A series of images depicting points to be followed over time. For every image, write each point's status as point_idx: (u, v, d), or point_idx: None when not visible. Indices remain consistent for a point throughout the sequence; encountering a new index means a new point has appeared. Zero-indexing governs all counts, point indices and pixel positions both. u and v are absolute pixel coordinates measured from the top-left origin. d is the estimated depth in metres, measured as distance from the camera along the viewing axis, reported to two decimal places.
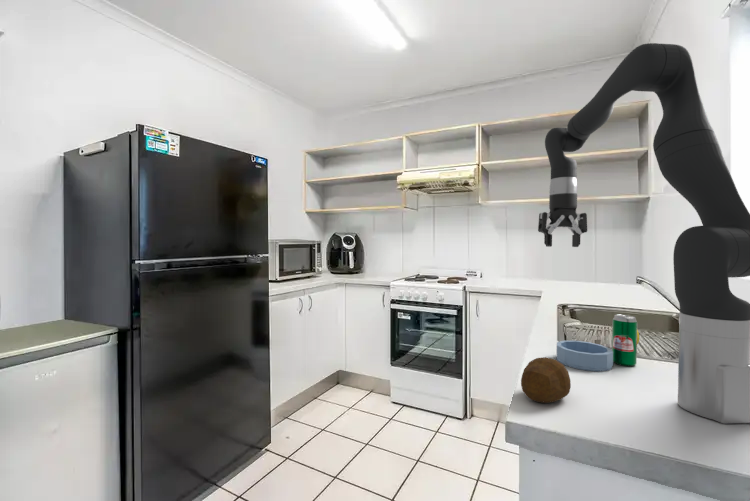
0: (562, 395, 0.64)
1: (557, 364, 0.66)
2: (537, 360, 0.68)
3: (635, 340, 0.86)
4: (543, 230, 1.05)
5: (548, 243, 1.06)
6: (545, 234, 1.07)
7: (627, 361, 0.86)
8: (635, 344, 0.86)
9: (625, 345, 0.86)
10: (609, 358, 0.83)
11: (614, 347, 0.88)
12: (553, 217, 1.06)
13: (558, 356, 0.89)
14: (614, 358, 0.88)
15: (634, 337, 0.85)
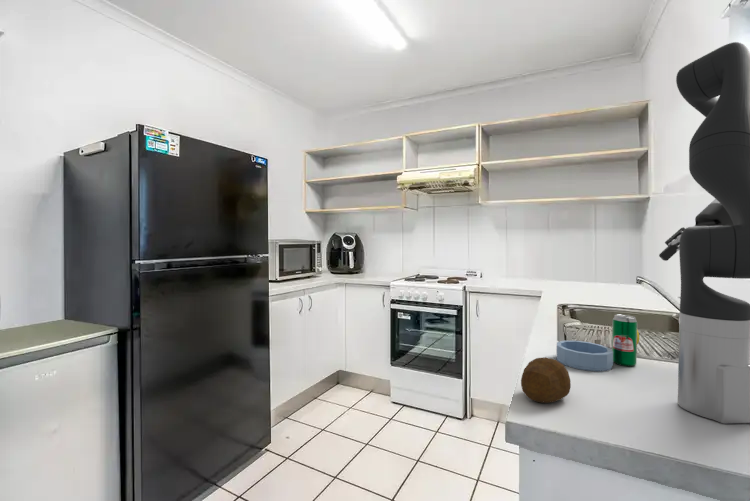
0: (562, 395, 0.64)
1: (557, 364, 0.66)
2: (537, 360, 0.68)
3: (635, 340, 0.86)
4: (666, 242, 0.93)
5: None
6: None
7: (627, 361, 0.86)
8: (635, 344, 0.86)
9: (625, 345, 0.86)
10: (609, 358, 0.83)
11: (614, 347, 0.88)
12: None
13: (558, 356, 0.89)
14: (614, 358, 0.88)
15: (634, 337, 0.85)
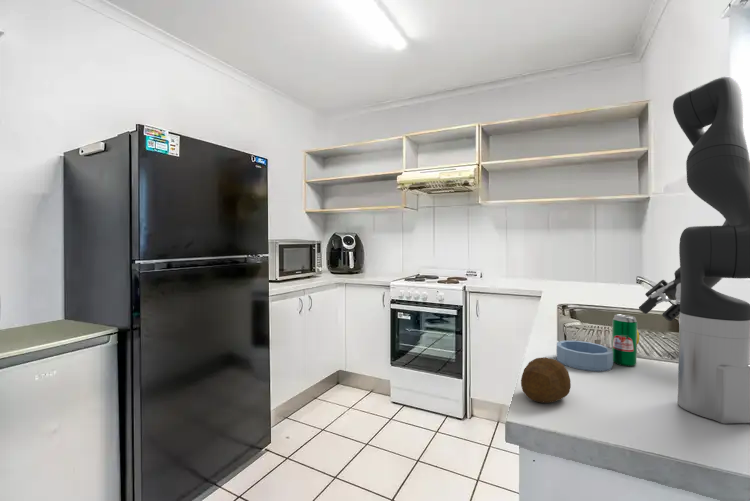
0: (562, 395, 0.64)
1: (557, 364, 0.66)
2: (537, 360, 0.68)
3: (635, 340, 0.86)
4: (646, 293, 0.94)
5: (641, 306, 0.92)
6: None
7: (627, 361, 0.86)
8: (635, 344, 0.86)
9: (625, 345, 0.86)
10: (609, 358, 0.83)
11: (614, 347, 0.88)
12: None
13: (558, 356, 0.89)
14: (614, 358, 0.88)
15: (634, 337, 0.85)
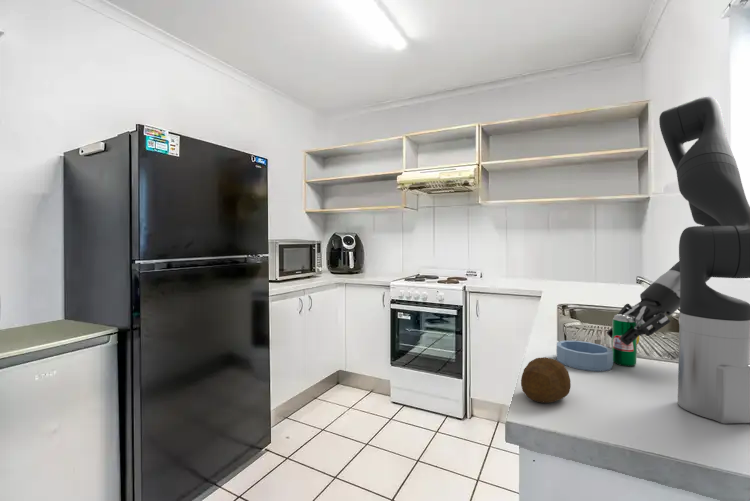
0: (562, 395, 0.64)
1: (557, 364, 0.66)
2: (537, 360, 0.68)
3: (635, 340, 0.86)
4: None
5: (609, 331, 0.91)
6: None
7: (627, 361, 0.86)
8: (635, 344, 0.86)
9: (625, 345, 0.86)
10: (609, 358, 0.83)
11: (614, 347, 0.88)
12: None
13: (558, 356, 0.89)
14: (614, 358, 0.88)
15: None
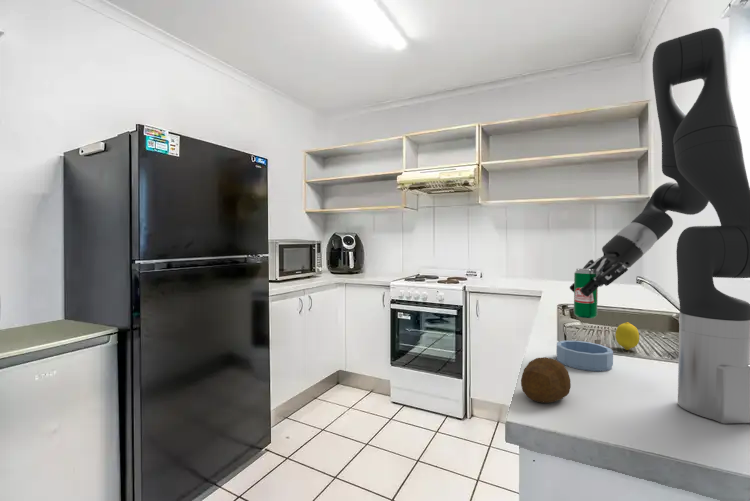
0: (562, 395, 0.64)
1: (557, 364, 0.66)
2: (537, 360, 0.68)
3: (595, 292, 0.86)
4: None
5: None
6: None
7: (587, 313, 0.86)
8: (595, 295, 0.86)
9: (585, 297, 0.86)
10: (609, 358, 0.83)
11: (575, 300, 0.88)
12: None
13: (558, 356, 0.89)
14: (575, 311, 0.88)
15: None
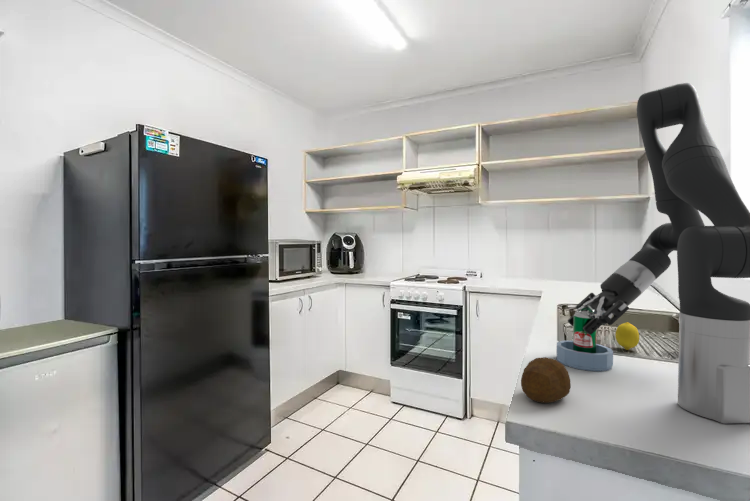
0: (562, 395, 0.64)
1: (557, 364, 0.66)
2: (537, 360, 0.68)
3: (594, 336, 0.86)
4: (576, 306, 0.94)
5: None
6: None
7: None
8: (594, 340, 0.86)
9: (584, 341, 0.86)
10: (609, 358, 0.83)
11: (574, 343, 0.88)
12: None
13: (558, 356, 0.89)
14: None
15: (593, 333, 0.86)
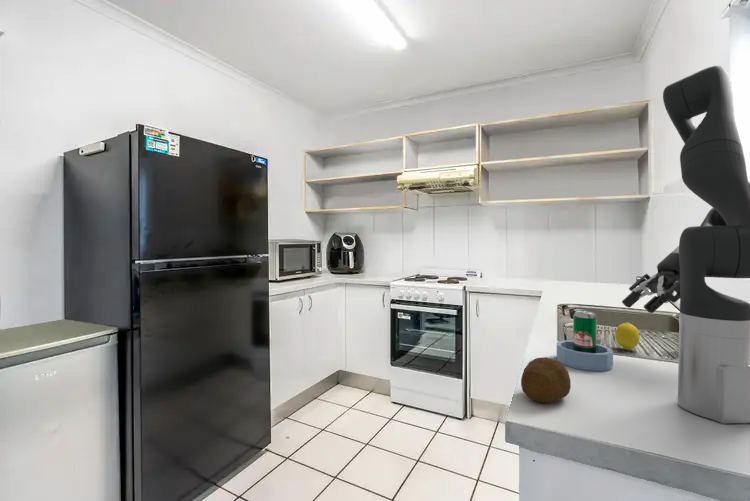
0: (562, 395, 0.64)
1: (557, 364, 0.66)
2: (537, 360, 0.68)
3: (594, 336, 0.86)
4: (629, 288, 0.93)
5: (624, 300, 0.92)
6: None
7: None
8: (594, 340, 0.86)
9: (584, 341, 0.86)
10: (609, 358, 0.83)
11: (574, 343, 0.88)
12: None
13: (558, 356, 0.89)
14: None
15: (593, 333, 0.86)
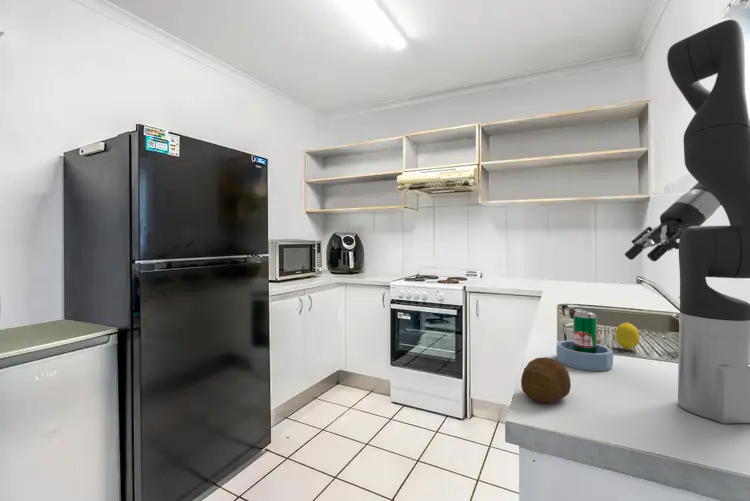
0: (562, 395, 0.64)
1: (557, 364, 0.66)
2: (537, 360, 0.68)
3: (594, 336, 0.86)
4: (632, 241, 0.93)
5: None
6: None
7: None
8: (594, 340, 0.86)
9: (584, 341, 0.86)
10: (609, 358, 0.83)
11: (574, 343, 0.88)
12: None
13: (558, 356, 0.89)
14: None
15: (593, 333, 0.86)
